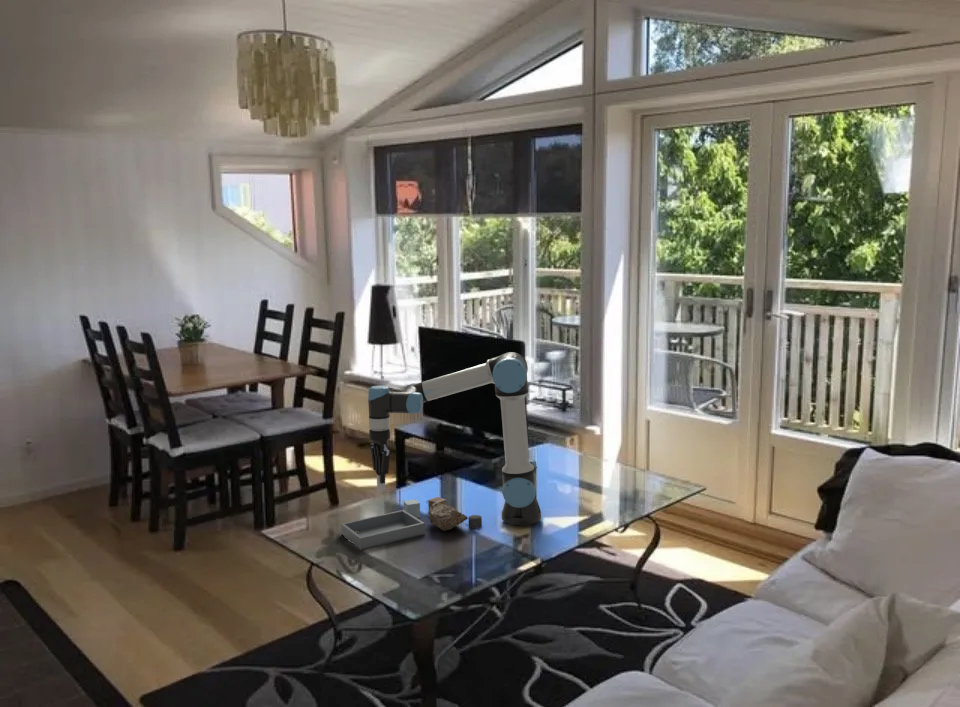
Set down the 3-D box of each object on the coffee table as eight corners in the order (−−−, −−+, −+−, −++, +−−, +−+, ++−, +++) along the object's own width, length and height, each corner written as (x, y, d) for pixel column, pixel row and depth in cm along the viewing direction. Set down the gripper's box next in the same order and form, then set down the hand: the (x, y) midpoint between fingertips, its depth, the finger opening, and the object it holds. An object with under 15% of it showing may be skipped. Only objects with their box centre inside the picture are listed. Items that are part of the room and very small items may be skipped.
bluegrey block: (420, 517, 315) (419, 503, 314) (407, 519, 313) (407, 504, 312) (416, 513, 319) (415, 499, 318) (404, 515, 317) (403, 500, 316)
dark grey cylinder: (484, 528, 303) (484, 517, 302) (473, 531, 300) (473, 520, 300) (477, 524, 307) (476, 514, 307) (466, 526, 304) (465, 516, 304)
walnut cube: (446, 511, 321) (446, 499, 320) (437, 514, 318) (437, 502, 317) (437, 508, 325) (437, 496, 324) (428, 512, 321) (428, 500, 320)
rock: (472, 522, 301) (461, 502, 297) (455, 541, 295) (443, 521, 291) (442, 515, 314) (431, 495, 310) (425, 532, 308) (413, 513, 304)
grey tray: (425, 534, 297) (424, 523, 296) (360, 550, 283) (360, 538, 282) (403, 520, 311) (403, 509, 310) (341, 535, 297) (340, 523, 297)
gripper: (397, 430, 287) (398, 493, 291) (381, 423, 298) (382, 484, 302) (378, 433, 283) (379, 497, 287) (362, 426, 294) (364, 488, 298)
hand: (381, 490), depth 295 cm, fingers closed
